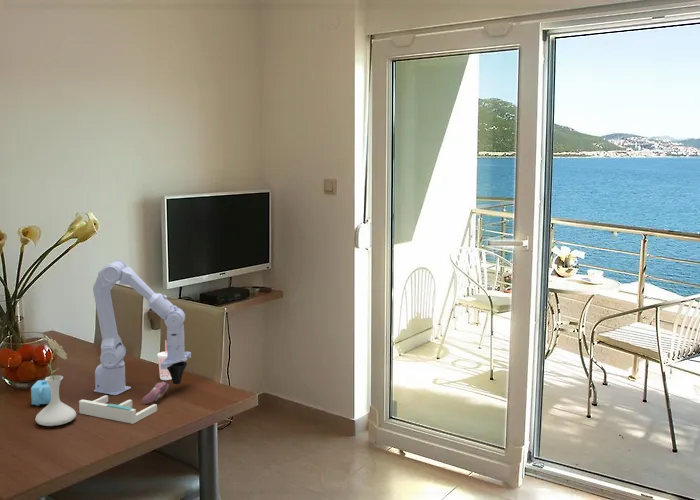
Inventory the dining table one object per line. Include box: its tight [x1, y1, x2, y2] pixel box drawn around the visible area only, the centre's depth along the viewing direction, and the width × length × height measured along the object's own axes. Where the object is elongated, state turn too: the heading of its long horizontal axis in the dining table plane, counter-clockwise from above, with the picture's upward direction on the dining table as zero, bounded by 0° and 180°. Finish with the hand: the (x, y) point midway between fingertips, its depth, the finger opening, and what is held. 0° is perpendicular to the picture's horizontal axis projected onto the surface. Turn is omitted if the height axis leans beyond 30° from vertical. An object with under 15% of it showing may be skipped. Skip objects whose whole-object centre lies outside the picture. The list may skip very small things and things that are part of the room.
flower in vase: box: [35, 338, 77, 427], centre depth 207 cm, size 13×11×25 cm
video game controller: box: [141, 381, 170, 405], centre depth 227 cm, size 10×5×7 cm, turn 169°
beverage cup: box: [156, 339, 172, 381], centre depth 248 cm, size 6×6×14 cm
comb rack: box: [78, 394, 158, 425], centre depth 216 cm, size 20×12×4 cm, turn 68°
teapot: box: [30, 379, 51, 407], centre depth 224 cm, size 12×6×8 cm, turn 8°
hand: (176, 383), depth 236 cm, fingers closed
